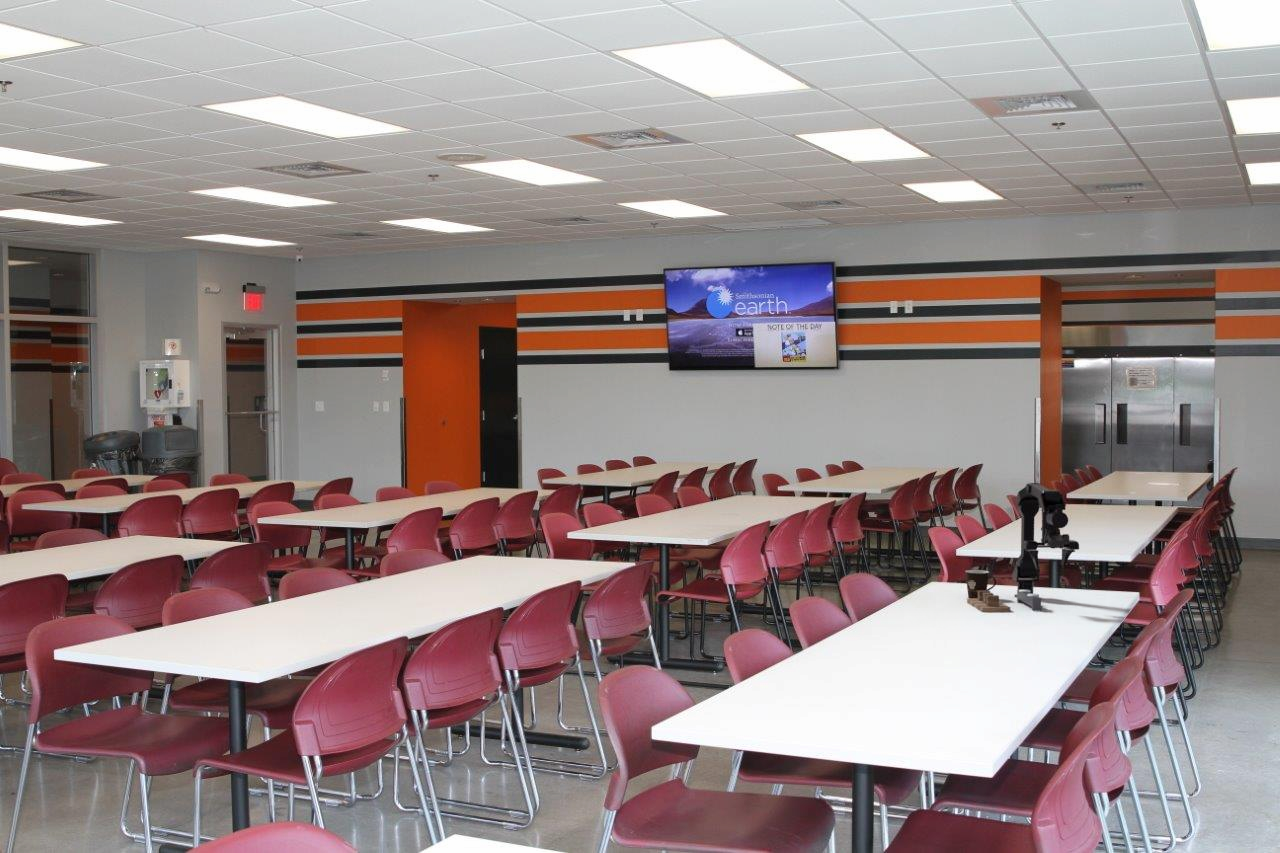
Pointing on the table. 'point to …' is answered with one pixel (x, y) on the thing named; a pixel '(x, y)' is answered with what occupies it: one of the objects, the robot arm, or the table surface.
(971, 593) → the coffee mug
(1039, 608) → the grey bar with knobs
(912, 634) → the table surface
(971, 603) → the display stand
